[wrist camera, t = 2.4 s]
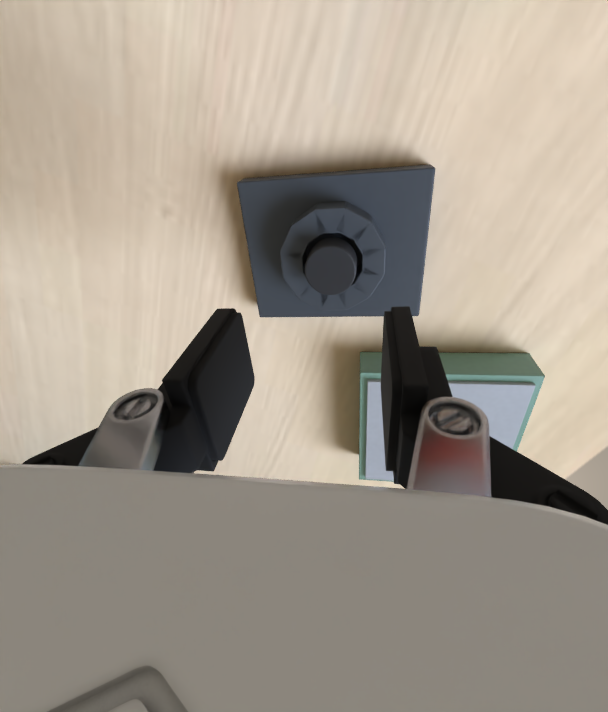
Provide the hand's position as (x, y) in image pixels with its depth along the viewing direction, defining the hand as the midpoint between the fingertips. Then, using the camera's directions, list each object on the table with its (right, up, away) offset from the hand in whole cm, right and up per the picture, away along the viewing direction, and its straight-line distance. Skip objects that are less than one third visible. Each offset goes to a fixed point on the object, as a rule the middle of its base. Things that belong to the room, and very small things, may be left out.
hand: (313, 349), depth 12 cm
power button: (+1, +5, +7) cm, 9 cm away
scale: (+10, -4, +15) cm, 19 cm away
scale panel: (+2, +6, +9) cm, 11 cm away
